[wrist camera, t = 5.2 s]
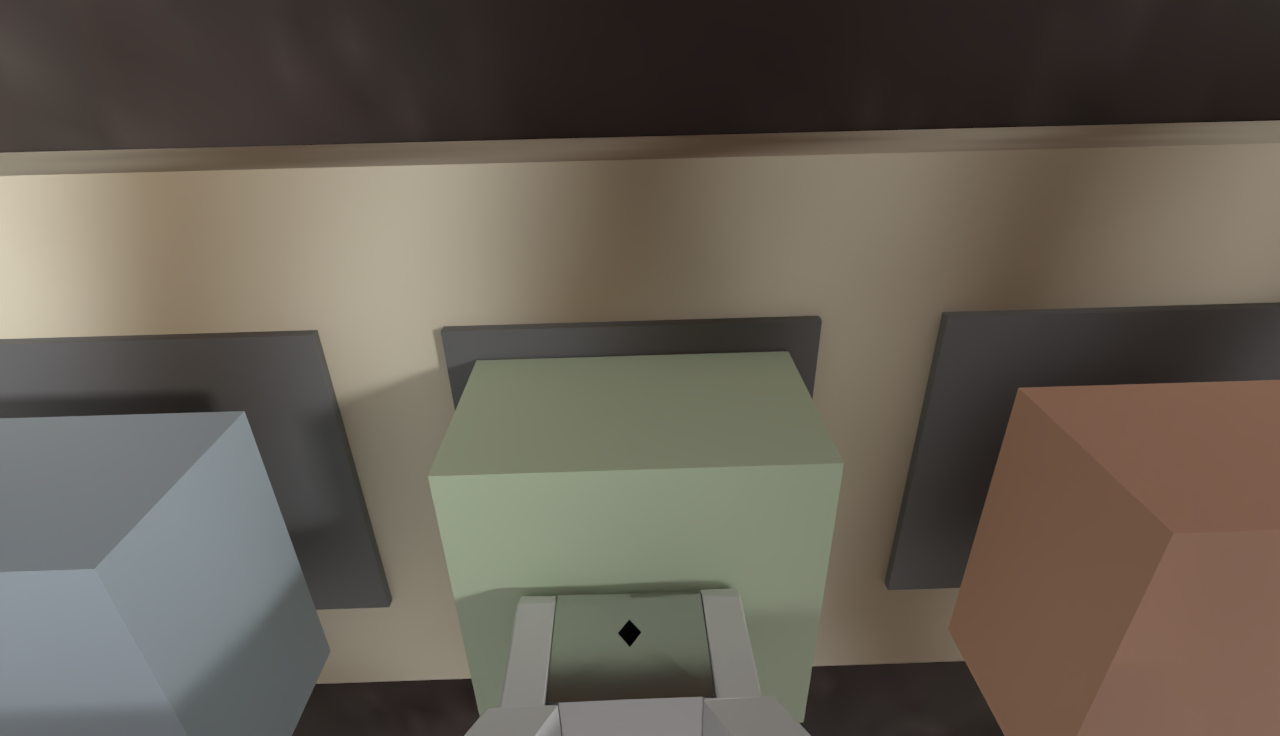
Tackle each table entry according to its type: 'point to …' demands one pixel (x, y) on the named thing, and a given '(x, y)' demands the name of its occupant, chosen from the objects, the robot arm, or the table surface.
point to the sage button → (640, 497)
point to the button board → (636, 317)
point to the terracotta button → (1130, 563)
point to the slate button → (148, 581)
